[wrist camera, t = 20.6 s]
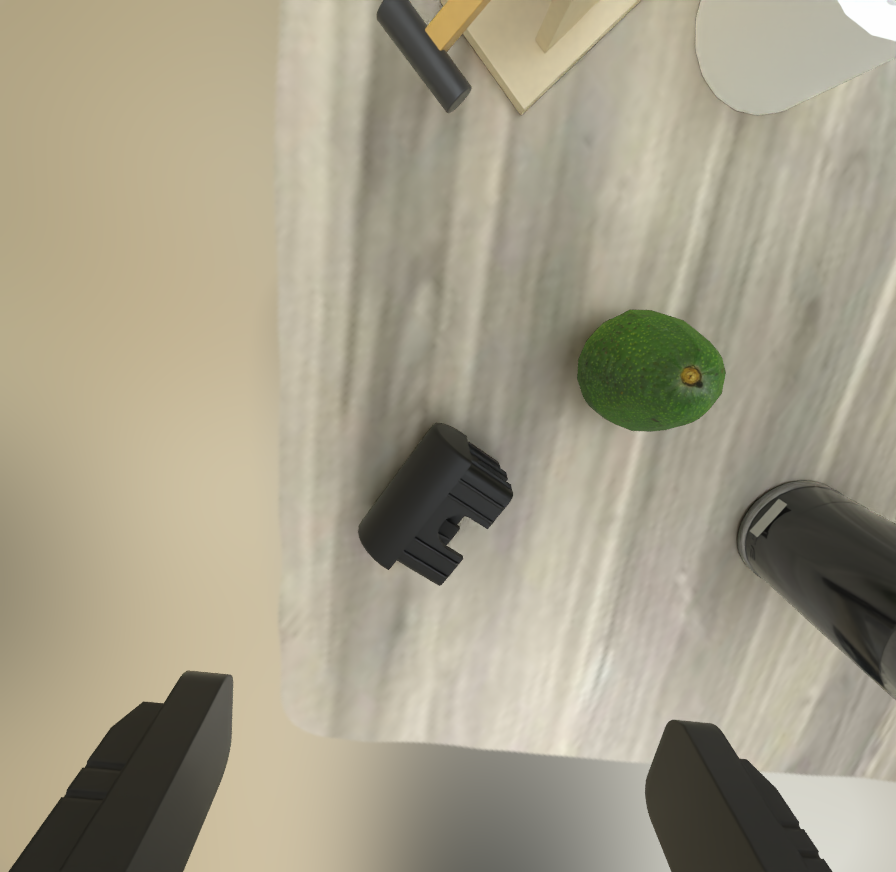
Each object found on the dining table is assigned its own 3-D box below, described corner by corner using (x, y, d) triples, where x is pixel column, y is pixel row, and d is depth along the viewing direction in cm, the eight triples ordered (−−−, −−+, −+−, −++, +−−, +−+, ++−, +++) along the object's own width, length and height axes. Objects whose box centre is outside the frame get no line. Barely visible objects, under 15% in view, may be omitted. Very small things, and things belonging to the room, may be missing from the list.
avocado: (678, 315, 37) (790, 332, 25) (649, 416, 39) (739, 474, 28) (574, 297, 36) (641, 307, 25) (551, 401, 38) (601, 454, 27)
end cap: (433, 410, 38) (434, 437, 32) (505, 459, 40) (520, 495, 33) (363, 506, 41) (350, 549, 34) (434, 549, 42) (434, 599, 36)
